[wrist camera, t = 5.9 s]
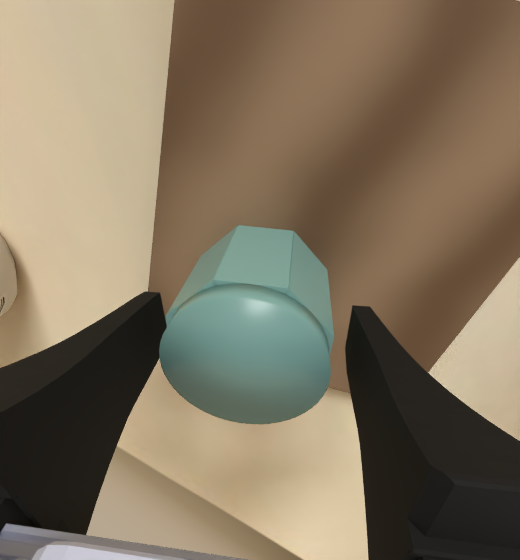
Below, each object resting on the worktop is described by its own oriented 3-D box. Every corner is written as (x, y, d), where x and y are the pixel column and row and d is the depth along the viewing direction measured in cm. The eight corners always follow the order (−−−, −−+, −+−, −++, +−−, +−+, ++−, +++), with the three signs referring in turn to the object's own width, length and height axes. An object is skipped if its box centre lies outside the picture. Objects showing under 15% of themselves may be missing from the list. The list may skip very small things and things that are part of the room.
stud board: (643, 56, 10) (826, 45, 6) (395, 388, 19) (415, 463, 15) (197, -89, 10) (132, -187, 6) (153, 320, 18) (115, 380, 15)
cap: (334, 234, 13) (346, 311, 9) (314, 338, 16) (316, 433, 12) (199, 221, 13) (149, 287, 9) (203, 324, 16) (167, 412, 12)
